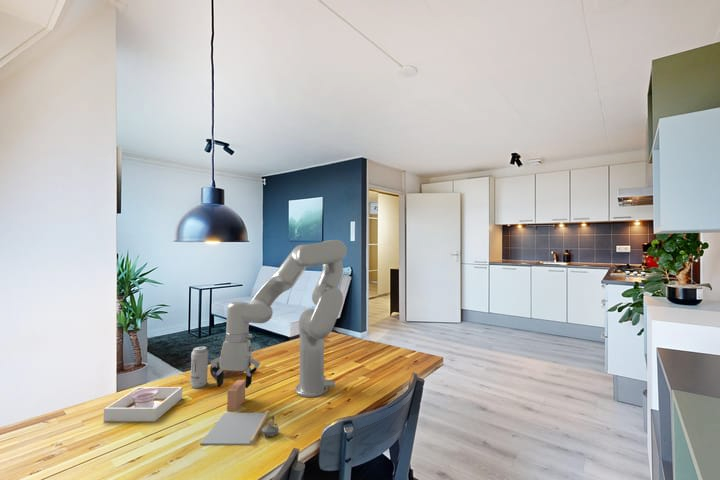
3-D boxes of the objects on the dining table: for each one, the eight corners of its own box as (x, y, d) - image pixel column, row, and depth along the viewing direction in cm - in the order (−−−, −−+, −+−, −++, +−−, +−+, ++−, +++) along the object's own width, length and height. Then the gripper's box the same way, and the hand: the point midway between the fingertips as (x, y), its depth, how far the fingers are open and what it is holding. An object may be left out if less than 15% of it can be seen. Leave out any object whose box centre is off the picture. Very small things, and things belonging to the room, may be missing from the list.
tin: (210, 381, 134) (210, 360, 135) (209, 378, 137) (209, 358, 137) (247, 374, 142) (247, 354, 143) (245, 371, 145) (246, 353, 145)
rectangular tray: (182, 398, 119) (182, 387, 119) (154, 421, 102) (155, 408, 103) (137, 398, 118) (138, 387, 118) (103, 421, 102) (103, 408, 102)
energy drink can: (187, 387, 128) (188, 349, 129) (200, 381, 134) (201, 345, 134) (196, 390, 125) (197, 351, 126) (210, 384, 131) (211, 347, 131)
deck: (245, 399, 118) (245, 380, 119) (235, 411, 109) (236, 390, 110) (236, 399, 118) (237, 380, 118) (227, 411, 109) (227, 390, 110)
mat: (268, 414, 107) (268, 410, 108) (252, 444, 90) (252, 440, 91) (224, 414, 107) (224, 410, 107) (200, 444, 90) (200, 440, 90)
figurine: (261, 440, 92) (264, 418, 93) (259, 433, 96) (263, 412, 97) (279, 439, 94) (283, 417, 95) (277, 432, 98) (280, 411, 99)
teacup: (171, 408, 111) (171, 390, 111) (131, 424, 101) (132, 404, 101) (153, 399, 117) (154, 382, 118) (115, 413, 107) (115, 395, 107)
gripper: (264, 335, 118) (261, 382, 117) (217, 333, 118) (214, 381, 117) (258, 340, 111) (255, 391, 110) (207, 338, 111) (204, 389, 110)
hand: (234, 386), depth 114 cm, fingers open, 9 cm apart
